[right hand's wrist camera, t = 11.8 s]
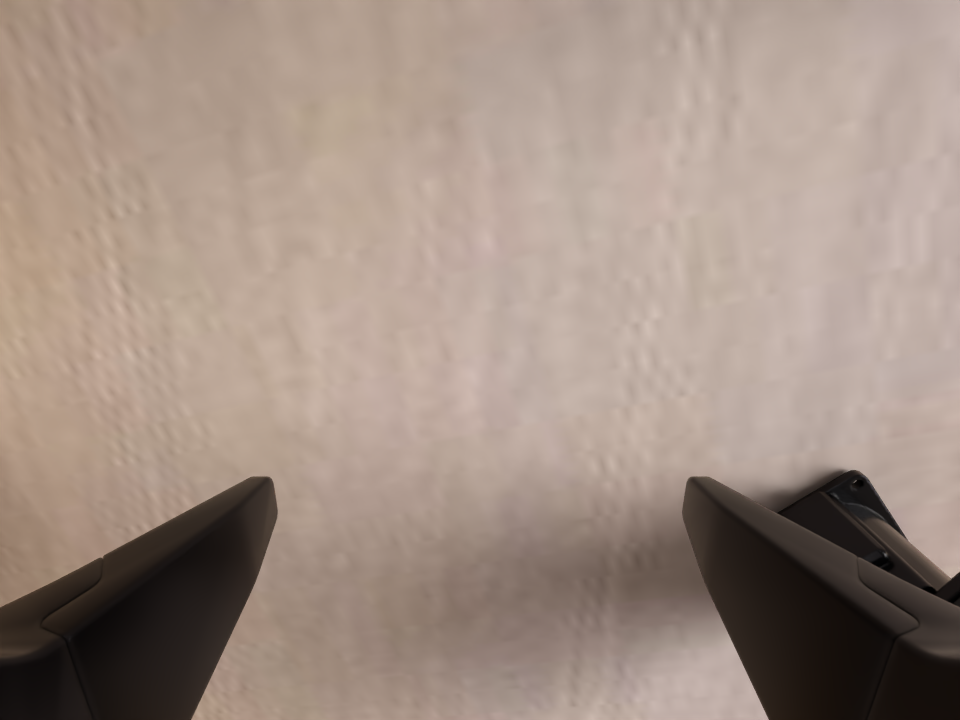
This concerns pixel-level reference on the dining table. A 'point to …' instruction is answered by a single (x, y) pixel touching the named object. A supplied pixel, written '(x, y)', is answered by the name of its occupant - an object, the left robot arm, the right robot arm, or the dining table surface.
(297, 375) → the dining table surface
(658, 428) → the dining table surface
